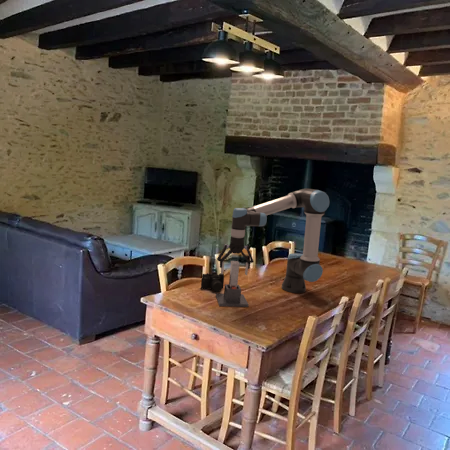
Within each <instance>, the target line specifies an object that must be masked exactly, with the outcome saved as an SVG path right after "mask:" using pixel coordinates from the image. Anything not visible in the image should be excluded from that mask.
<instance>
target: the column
mask: <svg viewBox="0 0 450 450" xmlns="http://www.w3.org/2000/svg"><path fill="white" fill-rule="evenodd" d="M240 265H241V264H240V262H239V261H238V260H237V261H236V260H230V268H229V269H230V270H229V280H228V284H229V288H231V289H232V287H236V289H237V285H239V284H238V281H239V270H240Z"/></svg>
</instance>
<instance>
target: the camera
mask: <svg viewBox="0 0 450 450" xmlns="http://www.w3.org/2000/svg"><path fill="white" fill-rule="evenodd" d="M200 281H201V282H200V288H201V290H212V291H213V292H216V293H219V292H221V291H222V290H223V289H224V286H225V284H224V283H225V274H224V273H223V274H221V272H220V273H219V274H217V272H216V271H212V273H208V272H207V273H202V275H201V280H200Z"/></svg>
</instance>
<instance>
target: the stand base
mask: <svg viewBox="0 0 450 450" xmlns="http://www.w3.org/2000/svg"><path fill="white" fill-rule="evenodd" d="M223 289H224V291H223V293H219V292H216V293H215V298H216V301H217V303H218V306H219V307H228V308H229V307H234V308H235V307H237V308H249V304H250V303H248V301H247V299H246V297H245V295H244V294H243V293H242V288H241V286H240V284H237V289H236V287H232V289H231V288H229V283H228V284H227V283H226V284H224V287H223Z"/></svg>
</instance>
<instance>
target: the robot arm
mask: <svg viewBox="0 0 450 450" xmlns="http://www.w3.org/2000/svg"><path fill="white" fill-rule="evenodd" d="M329 206H330V198H329V195H328V194H327V192H325V191H322V190H319V189H313V188H302V189H299V190H295V191H292V192H289V193H288V194H287V195H285V196H281V197H279V198H276V199H272V200H269V201H266V202H263V203H260V204H257V205H253V206H250V207H247V208H246V207H234V209H233V211H232V216H231V217H232V219H231V230H230V235H231V236H230V238H229V240H230V241H229V244H227V243H225V244H223V248H222V250H221V251H220V253H219V254H218V256H217V258H216V260H217V262H219V268H220V273H221V274H224V266H225V263H224V261H225V260H227V258H228V257H229V256H230V255H231V254H241V256H243V257H244V259H245V261H246V262H245V267H244V268H245V270H244V275H245V276H248V271H249V269H250V268H251V264H253V263H254V259H253V256H252V254H251V251H250V246H249V244H247V245H244V244H245V237H246V235H245V234H246V227H265V226H266V224H267V219H268V217H267V216H268V215H270V216H271V215H273V214H275V213H278V212H281V211H285V210H288V209H290V208H292V209H295V208H304V209H303V213H304V214H305V216H306V217H305V229H304V240H303V241H304V242H303V248H302V249H303V252H302V253H297V252H295V253H289V254H288V256H287V259H286V260H287V262H286V271H285V277H284V279H283V282H282V283H281V289H282V290H283V291H286V292H288V293H293V294H302V293H305V292H306V290H307V285H306V282H309V283H314V282H317V281H318V280H319V279H320V278H321V277H322V275H323V272H324V269H323V267H322V265H321V263H320V261H321V259H320V257H319V255H318V254H319V246H320V245H319V244H320V237H321V235H320V234H321V224H322V217H323V216H325V213H326V211H327V209H328V208H329ZM227 249H229V250H228V251H227V252H226V250H227ZM243 250H245V251H246V252H247V255H248V257H247V255H246V254H245V253H244V251H243ZM305 281H306V282H305Z"/></svg>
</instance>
